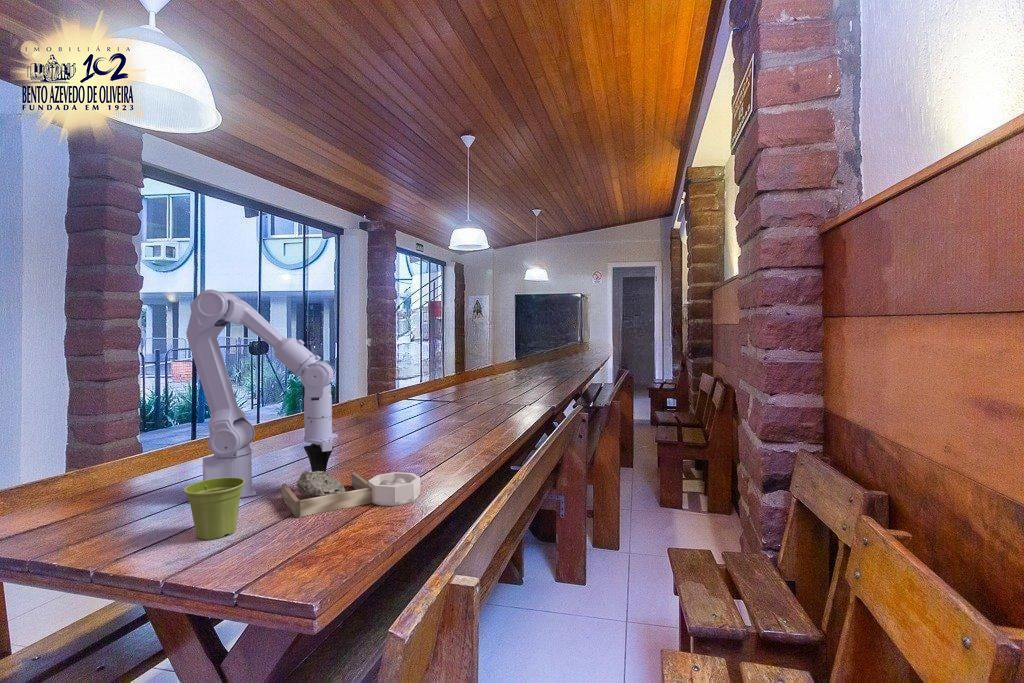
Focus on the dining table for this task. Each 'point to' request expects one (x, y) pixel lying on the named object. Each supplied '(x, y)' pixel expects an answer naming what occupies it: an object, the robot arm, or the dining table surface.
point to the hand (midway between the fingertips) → (319, 477)
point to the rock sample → (318, 484)
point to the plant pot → (215, 506)
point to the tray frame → (329, 499)
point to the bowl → (395, 489)
